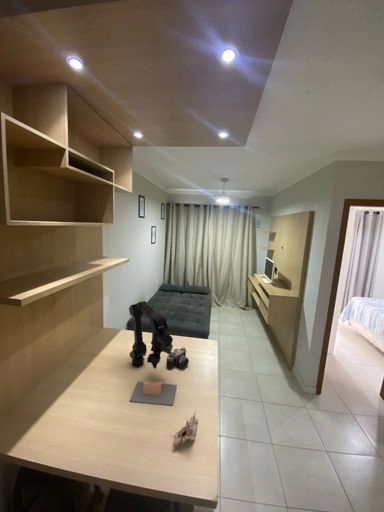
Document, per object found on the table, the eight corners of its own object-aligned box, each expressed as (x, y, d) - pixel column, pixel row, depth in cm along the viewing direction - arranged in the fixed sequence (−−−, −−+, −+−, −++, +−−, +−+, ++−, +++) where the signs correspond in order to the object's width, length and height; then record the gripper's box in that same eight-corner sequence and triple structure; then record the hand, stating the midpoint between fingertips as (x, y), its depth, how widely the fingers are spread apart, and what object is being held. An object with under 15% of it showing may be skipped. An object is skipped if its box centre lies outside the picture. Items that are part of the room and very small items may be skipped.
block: (143, 394, 113) (143, 383, 112) (144, 391, 115) (144, 380, 114) (160, 395, 113) (160, 385, 112) (161, 392, 115) (161, 382, 114)
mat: (129, 401, 108) (129, 400, 108) (137, 382, 122) (137, 381, 122) (173, 405, 107) (173, 404, 107) (176, 385, 121) (176, 384, 121)
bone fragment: (187, 420, 102) (200, 405, 100) (197, 435, 98) (211, 421, 96) (167, 436, 89) (182, 420, 87) (178, 454, 85) (193, 438, 83)
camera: (175, 375, 130) (176, 359, 129) (164, 367, 137) (165, 352, 136) (193, 364, 142) (194, 349, 141) (182, 357, 149) (182, 343, 148)
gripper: (169, 349, 109) (167, 377, 111) (174, 331, 128) (173, 356, 130) (147, 347, 110) (146, 375, 112) (155, 330, 128) (154, 355, 130)
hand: (156, 365), depth 121 cm, fingers open, 5 cm apart
